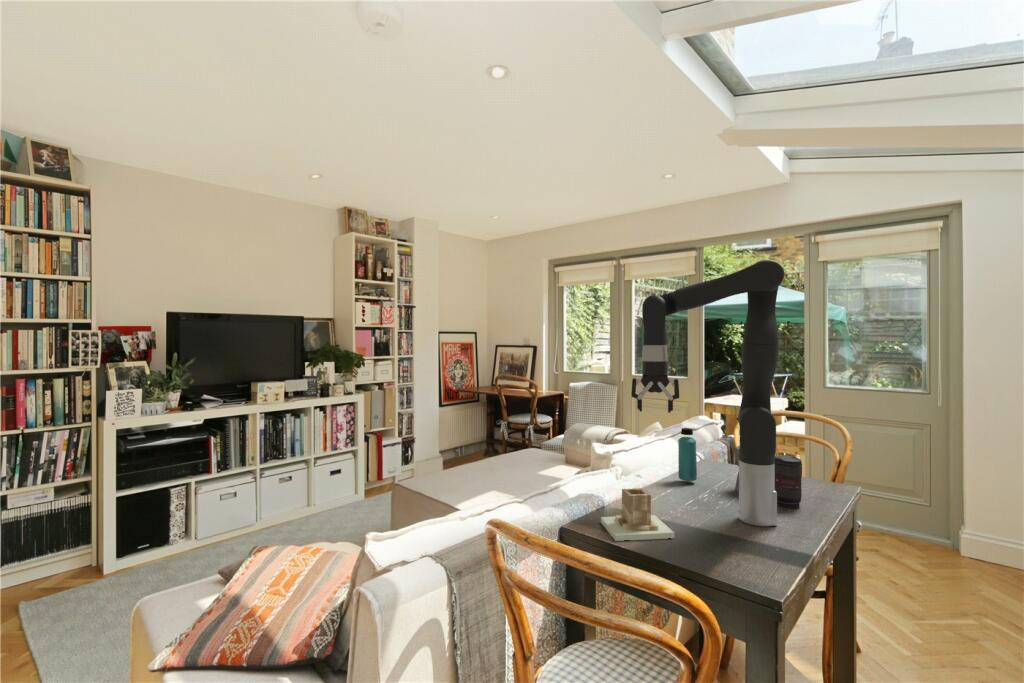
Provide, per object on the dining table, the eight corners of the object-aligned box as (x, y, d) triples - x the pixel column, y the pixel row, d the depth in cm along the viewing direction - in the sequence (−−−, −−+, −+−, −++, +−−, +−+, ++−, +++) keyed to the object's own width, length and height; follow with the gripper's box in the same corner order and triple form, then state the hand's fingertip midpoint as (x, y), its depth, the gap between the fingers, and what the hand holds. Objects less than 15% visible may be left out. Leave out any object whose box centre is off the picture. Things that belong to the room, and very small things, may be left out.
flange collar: (645, 517, 137) (645, 486, 137) (658, 530, 128) (658, 496, 128) (615, 519, 136) (615, 487, 136) (625, 531, 127) (625, 497, 127)
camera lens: (786, 510, 147) (786, 461, 147) (767, 501, 155) (767, 455, 155) (808, 508, 149) (808, 460, 149) (788, 500, 157) (788, 454, 157)
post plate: (654, 520, 139) (654, 494, 139) (674, 538, 126) (674, 509, 126) (600, 522, 138) (600, 496, 138) (615, 541, 125) (615, 512, 125)
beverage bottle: (698, 485, 172) (698, 430, 172) (679, 484, 174) (679, 429, 174) (695, 480, 179) (695, 427, 179) (676, 479, 180) (676, 426, 180)
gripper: (631, 360, 147) (631, 412, 147) (680, 360, 144) (680, 414, 144) (631, 359, 154) (631, 409, 154) (677, 359, 151) (677, 410, 151)
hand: (654, 411), depth 149 cm, fingers open, 8 cm apart
